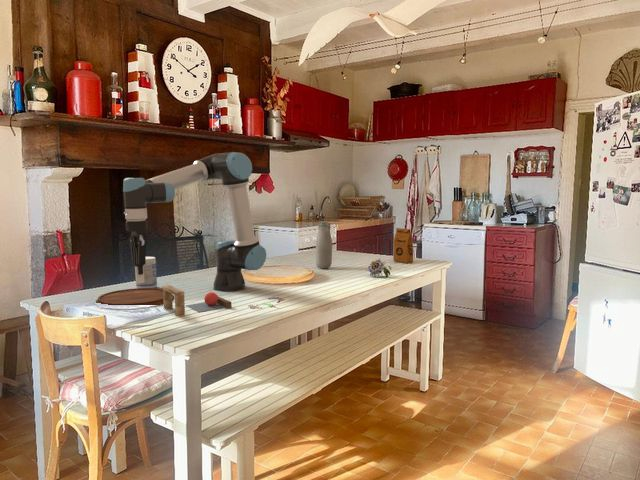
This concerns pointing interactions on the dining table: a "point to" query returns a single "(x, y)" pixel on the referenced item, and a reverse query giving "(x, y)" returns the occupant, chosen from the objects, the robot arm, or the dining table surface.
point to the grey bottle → (324, 246)
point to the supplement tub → (149, 274)
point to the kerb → (224, 303)
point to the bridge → (178, 299)
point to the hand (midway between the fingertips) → (140, 282)
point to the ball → (211, 299)
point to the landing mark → (204, 307)
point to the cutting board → (133, 297)
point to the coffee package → (403, 246)
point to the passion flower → (378, 268)
